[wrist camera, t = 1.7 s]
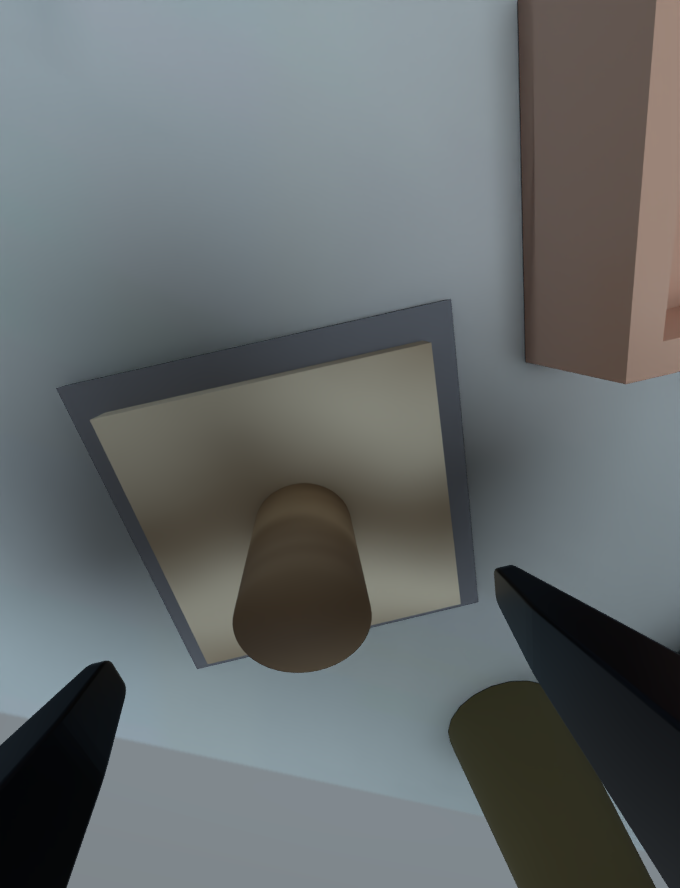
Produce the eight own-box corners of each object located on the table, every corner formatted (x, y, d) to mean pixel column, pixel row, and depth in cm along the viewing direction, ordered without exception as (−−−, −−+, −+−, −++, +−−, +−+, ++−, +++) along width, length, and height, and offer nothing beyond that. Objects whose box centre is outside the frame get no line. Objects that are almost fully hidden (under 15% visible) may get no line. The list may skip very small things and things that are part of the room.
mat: (474, 595, 15) (478, 602, 15) (199, 660, 15) (197, 669, 15) (446, 299, 11) (450, 299, 11) (64, 385, 11) (56, 388, 11)
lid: (452, 589, 15) (518, 711, 10) (212, 646, 14) (171, 796, 10) (422, 340, 11) (503, 359, 7) (104, 412, 11) (-36, 481, 6)
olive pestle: (433, 708, 18) (612, 1259, 7) (549, 664, 17) (906, 1176, 7) (465, 773, 20) (641, 1272, 9) (569, 735, 19) (867, 1208, 9)
